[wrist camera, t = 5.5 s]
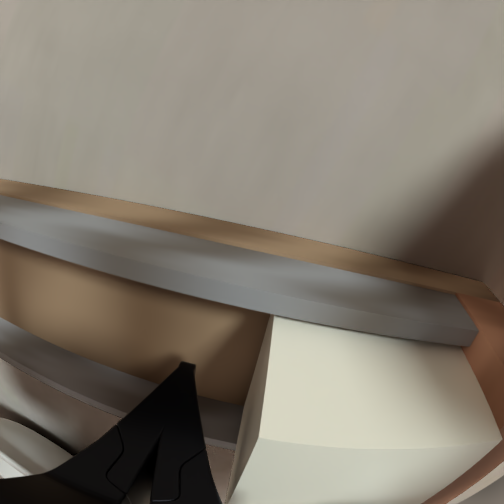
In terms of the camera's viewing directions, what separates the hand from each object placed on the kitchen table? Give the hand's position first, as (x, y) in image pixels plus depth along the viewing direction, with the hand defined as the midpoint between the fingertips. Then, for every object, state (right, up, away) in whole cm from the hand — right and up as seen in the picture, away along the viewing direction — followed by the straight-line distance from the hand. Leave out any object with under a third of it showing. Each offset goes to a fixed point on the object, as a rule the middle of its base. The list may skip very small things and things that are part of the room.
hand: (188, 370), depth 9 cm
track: (-1, +2, +3) cm, 3 cm away
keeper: (+5, -1, +1) cm, 5 cm away
